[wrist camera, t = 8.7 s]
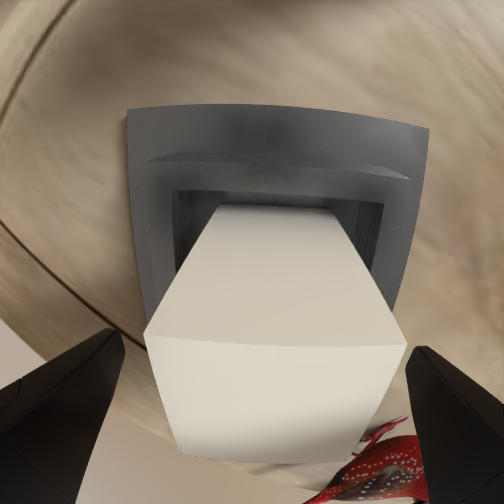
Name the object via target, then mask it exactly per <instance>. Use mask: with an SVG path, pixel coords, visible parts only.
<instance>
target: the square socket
mask: <svg viewBox="0 0 504 504" xmlns="http://www.w3.org/2000/svg"><path fill="white" fill-rule="evenodd" d="M428 140H429V129H427V128H423V127H419V126H414V125H410V124H406V123H401V122H396V121H392V120H387V119H381V118H376V117H370V116H365V115H358V114H352V113H345V112H338V111H330V110H322V109H312V108H302V107H290V106H275V105H253V104H199V105H176V106H162V107H150V108H140V109H131V110H127V157H128V178H129V193H130V206H131V217H132V227H133V236H134V245H135V253H136V260H137V267H138V274H139V281H140V287H141V293H142V299H143V304H144V310H145V315H146V320H147V325H148V324H149V322H150V320H151V319H152V317H153V315H154V313H155V311H156V310H157V308H158V306H159V304H160V303H161V301H162V299H163V297H164V296H165V294H166V292H167V290H168V289H169V287H170V285H171V283H172V282H173V280H174V278H175V277H176V275H177V273H178V271H179V270H180V268H181V266H182V265H183V263H184V261H185V260H186V258H187V256H188V255H189V253H190V251H191V250H192V248H193V246H194V245H195V243H196V241H197V240H198V238H199V236H200V235H201V233H202V232H203V230H204V228H205V227H206V225H207V223H208V222H209V220H210V219H211V217H212V215H213V214H214V212H215V211H216V209H217V208H218V206H219V204H237V205H264V206H285V207H304V208H320V209H331V211H332V212H333V214H334V215H335V217H336V219H337V220H338V222H339V223H340V225H341V226H342V228H343V230H344V231H345V233H346V234H347V236H348V238H349V239H350V241H351V243H352V244H353V246H354V247H355V249H356V251H357V252H358V254H359V256H360V257H361V259H362V261H363V263H364V264H365V266H366V268H367V269H368V271H369V273H370V275H371V276H372V278H373V280H374V282H375V283H376V285H377V287H378V289H379V291H380V292H381V294H382V296H383V298H384V300H385V302H386V303H387V305H388V307H389V309H390V311H391V313H392V311H393V308H394V305H395V301H396V298H397V295H398V292H399V288H400V285H401V281H402V278H403V274H404V271H405V267H406V263H407V259H408V255H409V251H410V247H411V243H412V238H413V234H414V229H415V225H416V220H417V215H418V210H419V204H420V199H421V193H422V187H423V180H424V174H425V166H426V158H427V150H428Z"/></svg>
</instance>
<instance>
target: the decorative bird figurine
mask: <svg viewBox="0 0 504 504" xmlns="http://www.w3.org/2000/svg"><path fill="white" fill-rule="evenodd" d="M407 418H408V417H406V418H404V419H402V420H400V421H397V422H393V423H388V424H386V425H384V426H383V427H382V428H380V429H379V430H378V431H375V432H373V433H371V434H369V435H367V436H366V437H365V438H366V440H359V441H360V442H367V441H369V440H371V439H372V441H371V442H370V443H369V444H368V445H367V446H366V447H365V448H364V450H363V451H362V452H361V453H360V454H359V455H358V456H357V457H355V458H354V459H353V460H352V461H351V462H350V463H348V464H347V465H346V466H344V467H343V468H341V469H340V470H339V471H338V472H337V473H336V475H335V476H334V477H333V479H332V480H331V481H330V483H329V484H328V485H327V486H326V487H325V489H323V490H322V491H321V492H320V493H319V494H318V495H316V496H314V497H313V498H311V499H310V500H308V501H306V502H305V503H303V504H321V503H323V502H326V501H329V500H340V501H341V500H342V501H372V500H380V499H386V498H394V497H412V498H416V499H419V500H423V501H429V499H428V492H427V486H426V479H425V473H424V468H423V462H422V457H421V452H420V447H419V442H418V438H417V435H405V436H397V437H392V438H389V439H386V440H383V441H380V442H378V443H376V442H377V441H378V440H379V439H380V438H381V436H382V435H383V434H384V433H386V432H387V431H390V430H391V429H393V428H394V426H396V425H397V424H398V423H401V422H403V421H405V420H406V419H407ZM369 436H370V437H369ZM367 437H369V438H367ZM375 443H376V444H375Z"/></svg>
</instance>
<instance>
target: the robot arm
mask: <svg viewBox="0 0 504 504" xmlns="http://www.w3.org/2000/svg"><path fill="white" fill-rule="evenodd" d="M124 357H125V348H124V344H123V341H122V337H121V334H120V332H119V330H117V329H112V328H105V329H103V330H102V331H100V332H98V333H97V334H95V335H93V336H91V337H90V338H88V339H86V340H85V341H83V342H81V343H79V344H78V345H76V346H74V347H73V348H71V349H69V350H67V351H66V352H64V353H62V354H61V355H59V356H57V357H55V358H54V359H52V360H50V361H49V362H47V363H45V364H44V365H42V366H40V367H39V368H37V369H35V370H33V371H32V372H30V373H28V374H27V375H25V376H23V377H22V379H21V378H20V379H18V380H16V381H15V382H13V383H11V384H9V385H8V386H6V387H4V388H3V389H1V390H0V504H75V503H76V502H75V501H76V499H77V496H78V493H79V489H80V486H81V483H82V480H83V477H84V474H85V471H86V468H87V465H88V462H89V459H90V457H91V454H92V450H93V448H94V445H95V443H96V440H97V437H98V434H99V432H100V429H101V426H102V424H103V421H104V418H105V416H106V413H107V411H108V408H109V406H110V403H111V401H112V398H113V395H114V392H115V389H116V385H117V381H118V378H119V374H120V371H121V367H122V364H123V361H124ZM405 372H406V378H407V384H408V391H409V398H410V405H411V411H412V416H413V420H414V424H415V429H416V433H417V438H418V442H419V447H420V452H421V457H422V462H423V468H424V473H425V479H426V486H427V492H428V499H429V501H423V500H419V499H416V498H413V499H414V503H413V504H504V404H502V402H501V401H499V400H498V399H497V398H496V397H494V396H493V395H492V394H490V393H489V392H488V391H487V390H485V389H484V388H483V387H481V386H480V385H479V384H477V383H476V382H475V381H474V380H472V379H471V378H470V377H468V376H467V375H466V374H464V373H463V372H462V371H460V370H459V369H458V368H457V367H455V366H454V365H453V364H451V363H450V362H449V361H447V360H446V359H445V358H443V357H442V356H441V355H439V354H438V353H437V352H435V351H434V350H432V349H431V348H430V347H428V346H417V347H415V348H414V349H413V352H412V354H411V356H410V358H409V360H408V362H407V365H406V369H405Z"/></svg>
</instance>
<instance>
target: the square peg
mask: <svg viewBox="0 0 504 504" xmlns="http://www.w3.org/2000/svg"><path fill="white" fill-rule="evenodd" d="M143 335H144V339H145V343H146V347H147V351H148V355H149V359H150V362H151V366H152V370H153V373H154V377H155V380H156V383H157V387H158V390H159V393H160V396H161V400H162V403H163V406H164V409H165V412H166V415H167V418H168V421H169V424H170V426H171V429H172V432H173V435H174V438H175V440H176V443H177V446H178V448H179V451H180V453H181V454H182V455H188V456H194V457H201V458H208V459H216V460H225V461H236V462H250V463H272V464H306V463H328V462H341V461H347V459H348V458H349V456H350V455H351V453H352V452H353V450H354V448H355V447H356V445H357V444H358V442H359V440H360V439H361V437H362V435H363V434H364V432H365V430H366V428H367V427H368V425H369V423H370V421H371V420H372V418H373V416H374V414H375V412H376V410H377V408H378V407H379V405H380V403H381V401H382V399H383V397H384V395H385V393H386V391H387V389H388V387H389V385H390V383H391V381H392V378H393V376H394V374H395V372H396V370H397V368H398V365H399V363H400V361H401V359H402V356H403V354H404V352H405V349H406V347H407V342H406V340H405V338H404V336H403V334H402V332H401V330H400V328H399V326H398V324H397V322H396V320H395V318H394V317H393V315H392V313H391V311H390V309H389V307H388V305H387V303H386V302H385V300H384V298H383V296H382V294H381V292H380V291H379V289H378V287H377V285H376V283H375V282H374V280H373V278H372V276H371V275H370V273H369V271H368V269H367V268H366V266H365V264H364V263H363V261H362V259H361V257H360V256H359V254H358V252H357V251H356V249H355V247H354V246H353V244H352V243H351V241H350V239H349V238H348V236H347V234H346V233H345V231H344V230H343V228H342V226H341V225H340V223H339V222H338V220H337V219H336V217H335V215H334V214H333V212H332V211H331V209H320V208H304V207H285V206H264V205H237V204H219V206H218V208H217V209H216V211H215V212H214V214H213V215H212V217H211V219H210V220H209V222H208V223H207V225H206V227H205V228H204V230H203V232H202V233H201V235H200V236H199V238H198V240H197V241H196V243H195V245H194V246H193V248H192V250H191V251H190V253H189V255H188V256H187V258H186V260H185V261H184V263H183V265H182V266H181V268H180V270H179V271H178V273H177V275H176V277H175V278H174V280H173V282H172V283H171V285H170V287H169V289H168V290H167V292H166V294H165V296H164V297H163V299H162V301H161V303H160V304H159V306H158V308H157V310H156V311H155V313H154V315H153V317H152V319H151V320H150V322H149V324H148V326H147V328H146V330H145V331H144V333H143Z"/></svg>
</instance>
